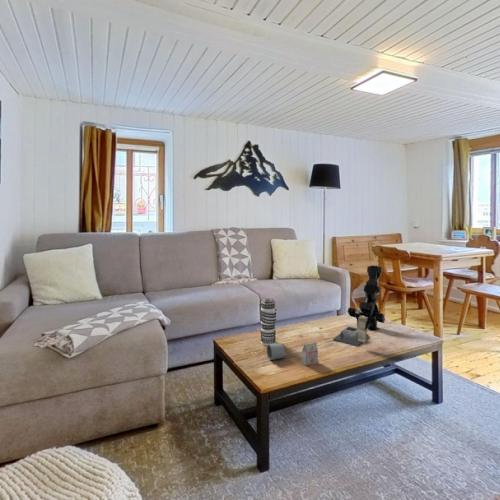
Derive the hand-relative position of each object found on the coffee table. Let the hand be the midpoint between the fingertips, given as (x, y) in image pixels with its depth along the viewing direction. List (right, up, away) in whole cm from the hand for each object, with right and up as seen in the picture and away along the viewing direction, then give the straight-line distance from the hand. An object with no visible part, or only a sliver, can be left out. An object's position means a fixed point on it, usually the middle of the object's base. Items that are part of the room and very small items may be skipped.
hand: (361, 328), depth 174 cm
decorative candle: (-49, -11, +12) cm, 51 cm away
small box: (-30, -14, -13) cm, 35 cm away
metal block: (+1, -6, +2) cm, 7 cm away
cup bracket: (0, -9, +17) cm, 19 cm away
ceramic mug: (-46, -13, -6) cm, 48 cm away
